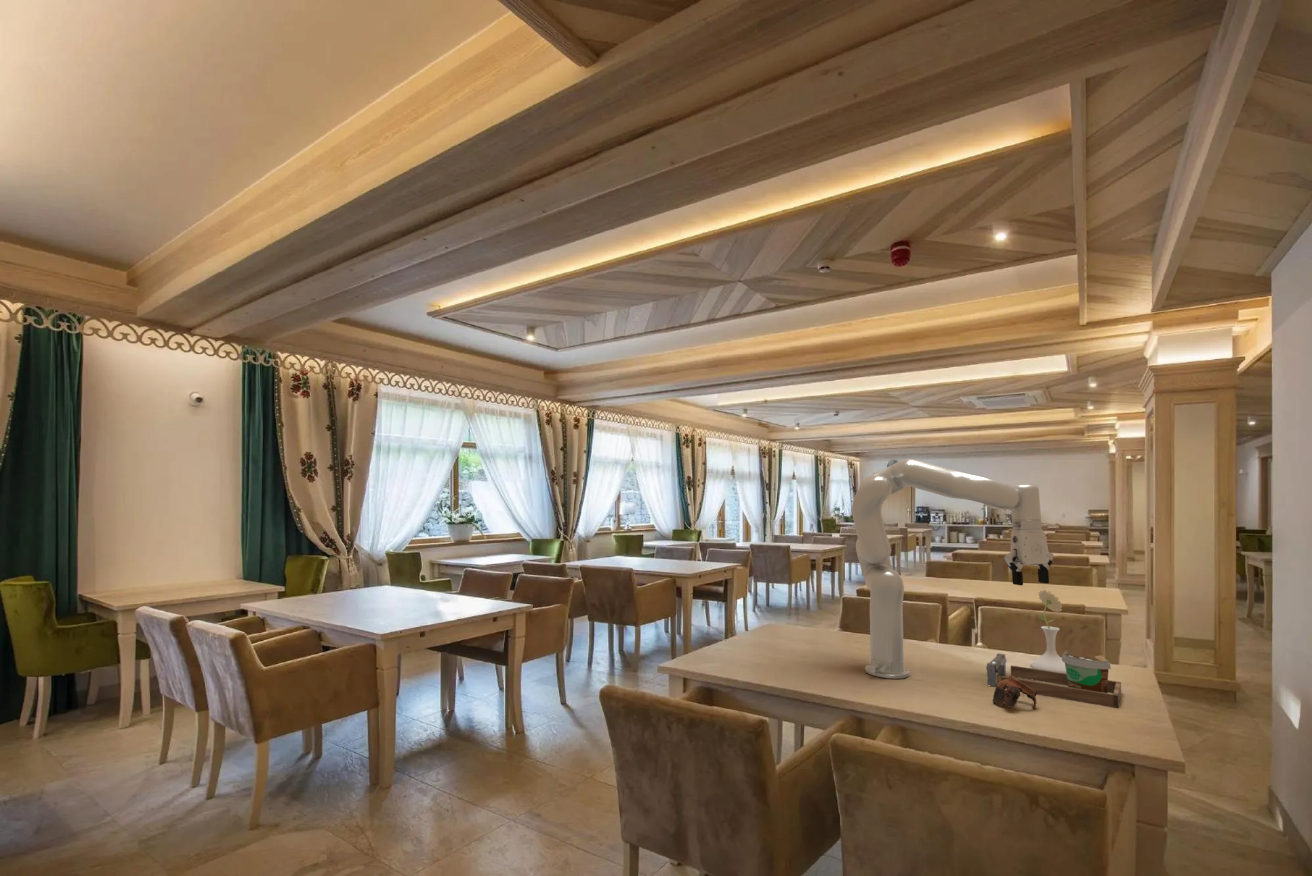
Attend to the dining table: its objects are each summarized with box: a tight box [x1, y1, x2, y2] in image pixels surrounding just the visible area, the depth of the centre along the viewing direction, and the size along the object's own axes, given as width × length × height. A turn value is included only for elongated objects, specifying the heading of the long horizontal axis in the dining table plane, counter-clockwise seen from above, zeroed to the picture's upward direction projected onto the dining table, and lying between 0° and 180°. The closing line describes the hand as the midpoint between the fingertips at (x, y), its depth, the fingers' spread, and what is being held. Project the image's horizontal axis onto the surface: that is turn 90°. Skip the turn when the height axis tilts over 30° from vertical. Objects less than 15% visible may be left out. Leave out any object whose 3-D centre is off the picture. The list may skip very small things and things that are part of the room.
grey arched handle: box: [985, 653, 1007, 688], centre depth 193 cm, size 18×3×6 cm, turn 142°
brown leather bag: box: [992, 675, 1038, 710], centre depth 168 cm, size 12×10×8 cm
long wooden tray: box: [1000, 665, 1122, 709], centre depth 182 cm, size 16×27×3 cm, turn 52°
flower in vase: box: [1029, 589, 1066, 674], centre depth 201 cm, size 13×11×25 cm
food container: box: [1061, 650, 1112, 693], centre depth 179 cm, size 12×6×10 cm, turn 25°
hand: (1030, 583), depth 193 cm, fingers open, 9 cm apart
